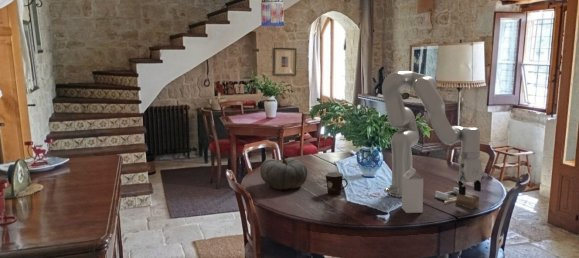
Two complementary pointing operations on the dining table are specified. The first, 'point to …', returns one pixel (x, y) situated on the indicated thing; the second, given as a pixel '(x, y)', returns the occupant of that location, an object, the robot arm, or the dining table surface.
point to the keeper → (447, 194)
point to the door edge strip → (450, 201)
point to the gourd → (283, 173)
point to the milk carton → (412, 192)
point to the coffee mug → (334, 183)
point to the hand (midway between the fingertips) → (469, 192)
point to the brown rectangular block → (468, 200)
